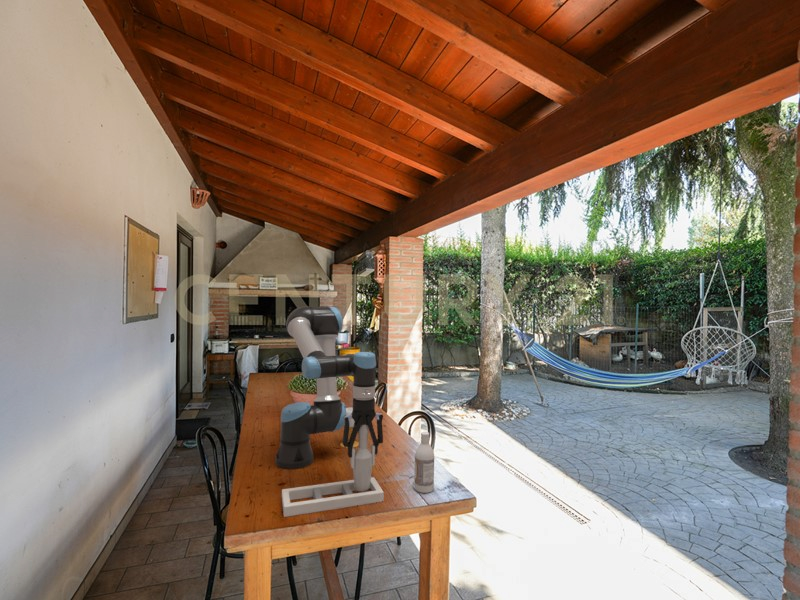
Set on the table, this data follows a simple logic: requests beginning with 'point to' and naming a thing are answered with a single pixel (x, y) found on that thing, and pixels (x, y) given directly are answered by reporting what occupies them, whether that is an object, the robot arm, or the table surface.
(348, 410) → the cup
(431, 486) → the bath foam
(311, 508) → the white rectangular compartment rack
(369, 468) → the low poly bottle
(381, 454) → the table surface
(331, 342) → the robot arm
